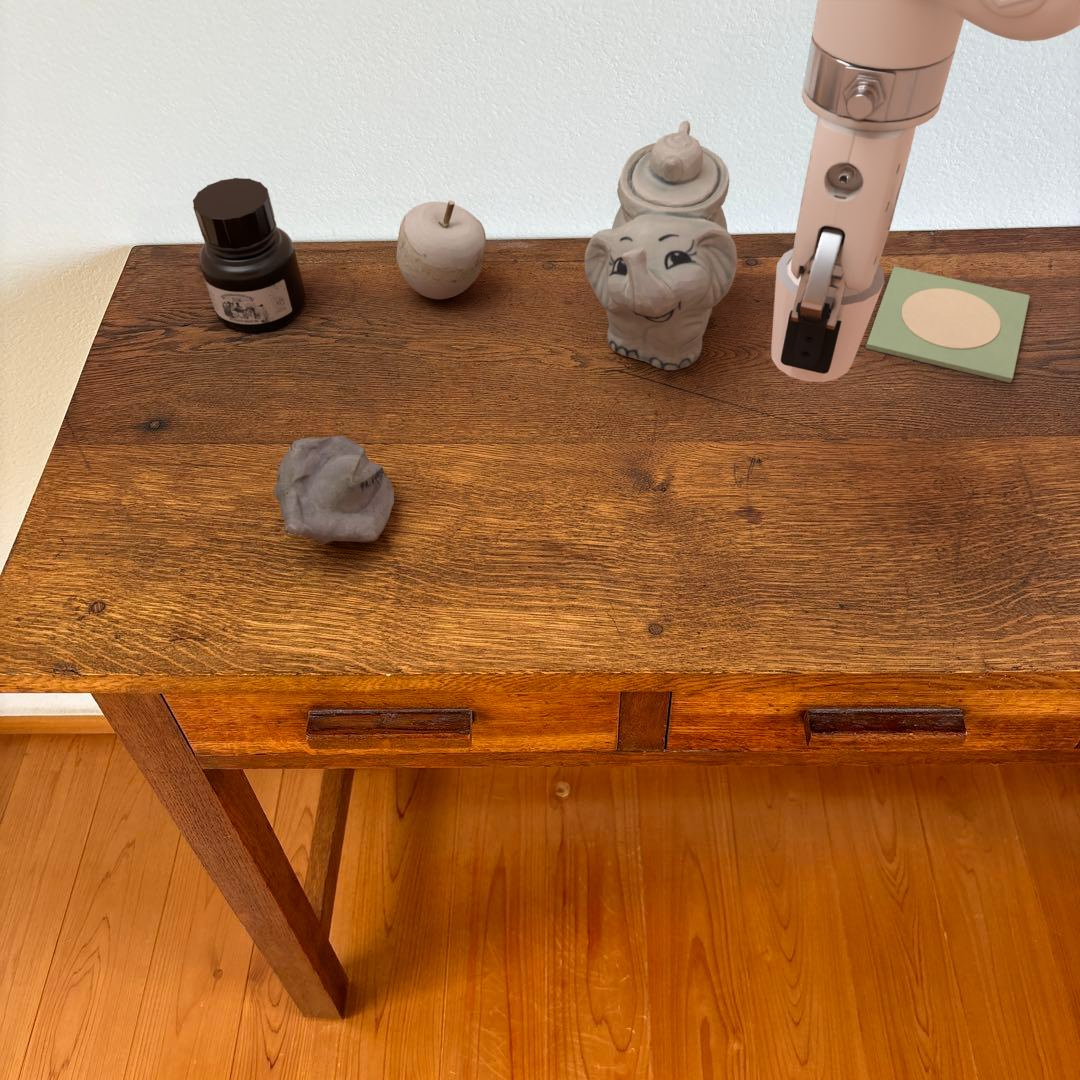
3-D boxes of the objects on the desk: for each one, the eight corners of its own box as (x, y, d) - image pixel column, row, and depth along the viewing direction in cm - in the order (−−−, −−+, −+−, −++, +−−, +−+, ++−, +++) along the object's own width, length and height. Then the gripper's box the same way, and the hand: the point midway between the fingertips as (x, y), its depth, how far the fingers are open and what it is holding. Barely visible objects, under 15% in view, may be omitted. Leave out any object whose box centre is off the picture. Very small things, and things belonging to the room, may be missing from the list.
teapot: (637, 419, 89) (650, 233, 75) (537, 333, 97) (530, 149, 83) (773, 345, 95) (809, 159, 81) (668, 269, 103) (684, 87, 89)
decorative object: (388, 282, 103) (373, 193, 95) (465, 255, 105) (456, 166, 98) (425, 329, 98) (413, 239, 90) (505, 300, 100) (499, 210, 93)
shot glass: (867, 333, 72) (890, 249, 67) (855, 396, 68) (879, 311, 63) (770, 317, 74) (785, 233, 68) (753, 378, 69) (768, 293, 64)
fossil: (379, 583, 78) (363, 515, 72) (266, 575, 79) (240, 507, 73) (407, 478, 85) (394, 408, 79) (302, 472, 86) (281, 402, 80)
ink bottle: (197, 327, 99) (158, 219, 90) (235, 274, 104) (202, 166, 95) (290, 340, 97) (260, 231, 88) (323, 285, 103) (299, 177, 93)
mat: (1028, 300, 98) (1030, 293, 98) (1010, 383, 91) (1013, 376, 90) (892, 270, 102) (894, 264, 101) (865, 348, 94) (867, 342, 94)
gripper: (920, 163, 49) (846, 428, 63) (967, 16, 60) (895, 272, 73) (769, 137, 51) (729, 400, 65) (839, -1, 62) (792, 251, 75)
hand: (817, 330), depth 69 cm, fingers closed on shot glass, 6 cm apart
